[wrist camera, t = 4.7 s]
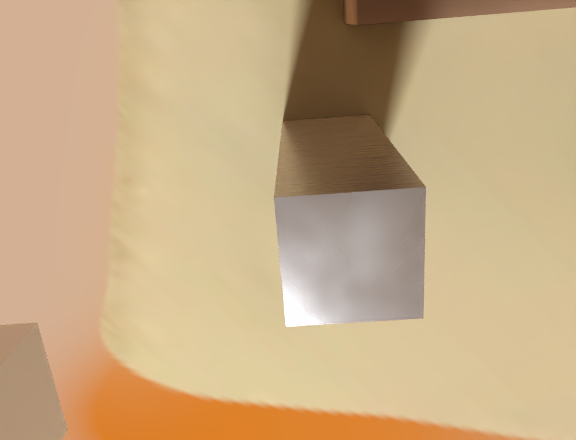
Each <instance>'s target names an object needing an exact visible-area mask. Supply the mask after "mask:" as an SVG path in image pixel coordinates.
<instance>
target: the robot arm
mask: <svg viewBox="0 0 576 440" xmlns="http://www.w3.org/2000/svg"><path fill="white" fill-rule="evenodd" d="M66 432H67V426H66V422H65V419H64V415H63V412H62V408H61V405H60V401H59V398H58V394H57V391H56V387H55V384H54V380H53V377H52V373H51V370H50V366H49V363H48V359H47V356H46V352H45V349H44V345H43V342H42V338H41V335H40V332H39V328H38V324H37V323H27V324H11V325H0V440H62V439H63V437H64V436H65V433H66Z"/></svg>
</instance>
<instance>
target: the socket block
mask: <svg viewBox="0 0 576 440" xmlns="http://www.w3.org/2000/svg"><path fill="white" fill-rule="evenodd" d="M343 1H344V24H352V25H365V24H377V23H390V22H402V21H414V20H426V19H438V18H450V17H462V16H474V15H487V14H499V13H511V12H523V11H535V10H547V9H559V8H572V7H576V0H343Z"/></svg>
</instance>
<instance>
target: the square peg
mask: <svg viewBox="0 0 576 440" xmlns="http://www.w3.org/2000/svg"><path fill="white" fill-rule="evenodd" d="M425 199H426V187H425V185H424V184H423V183H422V182H421V180H420V179H419V178H418V176H417V175H416V174H415V173H414V171H413V170H412V169H411V167H410V166H409V165H408V164H407V162H406V161H405V160H404V158H403V157H402V156H401V155H400V153H399V152H398V151H397V149H396V148H395V147H394V146H393V144H392V143H391V142H390V140H389V139H388V138H387V136H386V135H385V134H384V133H383V131H382V130H381V129H380V127H379V126H378V125H377V124H376V122H375V121H374V120H373V118H372V117H371V116H370V115H356V116H343V117H330V118H316V119H303V120H290V121H283V122H282V131H281V140H280V149H279V158H278V167H277V176H276V185H275V194H274V202H275V213H276V224H277V235H278V246H279V256H280V267H281V278H282V289H283V300H284V311H285V321H286V327H288V326H305V325H321V324H338V323H354V322H371V321H387V320H403V319H420V318H423V309H424V254H425Z"/></svg>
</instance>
